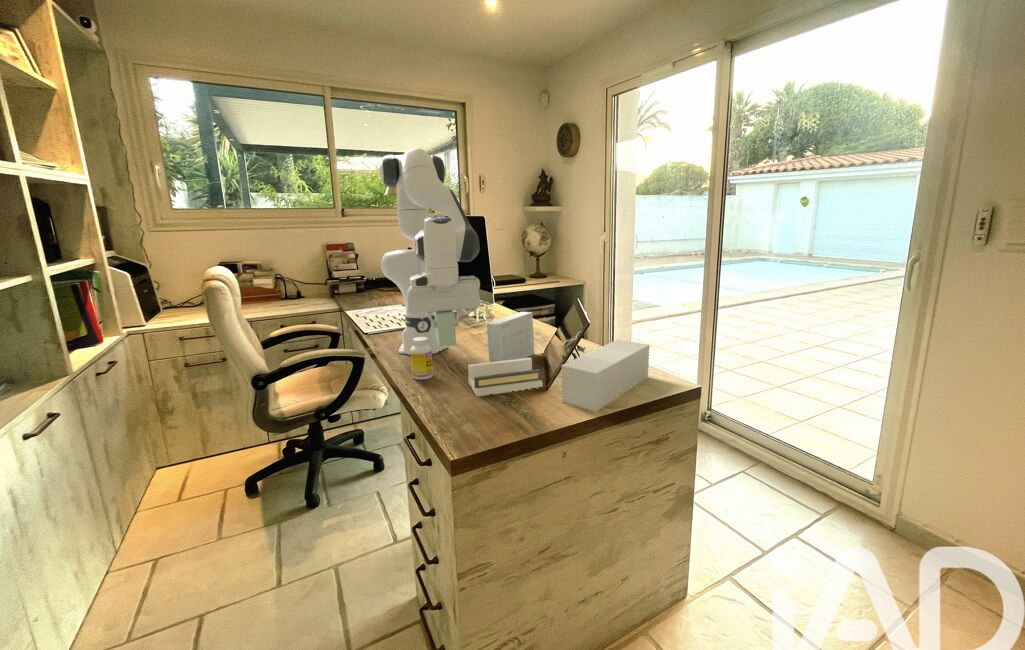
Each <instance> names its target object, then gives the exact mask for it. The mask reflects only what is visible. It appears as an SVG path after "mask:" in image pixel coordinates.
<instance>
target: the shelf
mask: <svg viewBox="0 0 1025 650" xmlns="http://www.w3.org/2000/svg"><path fill="white" fill-rule="evenodd" d="M532 360H533V359H532V358H531V357H527V358H523V359H514V360H505V361H497V362H489V361H488V362H482V363H472V364H467V366H468V367H467V368H468V376H467V378H468V380H467V381H468V384H469V386H470V387H472V388H471V389H472V391H473V392H474V394H476V395H475V396H476V397H484V396H490V394H492V395H498V394H505V393H511V392H512V391H514V392H519V390H521V391H526V390H525V389H528V390H532V389H531V388H536V389H539V388H538V387H542V388H543V380H542V370H541V369H540V368H538V369H537V368H536V369H533V361H532ZM512 393H513V392H512Z"/></svg>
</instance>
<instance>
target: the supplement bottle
mask: <svg viewBox="0 0 1025 650" xmlns="http://www.w3.org/2000/svg"><path fill="white" fill-rule="evenodd" d="M427 343H428V338H427V337H416V338H414V339H413V344H414V346H413V347H412V348H411V350H410V351H411V355H410V361H411V375H412V378H413V379H414V380H418V381H421V380H423V381H424V380H429V379H431V378H432V377H434V366H433V354H432V349H431V347H430V346H429V345H428V344H427Z"/></svg>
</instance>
